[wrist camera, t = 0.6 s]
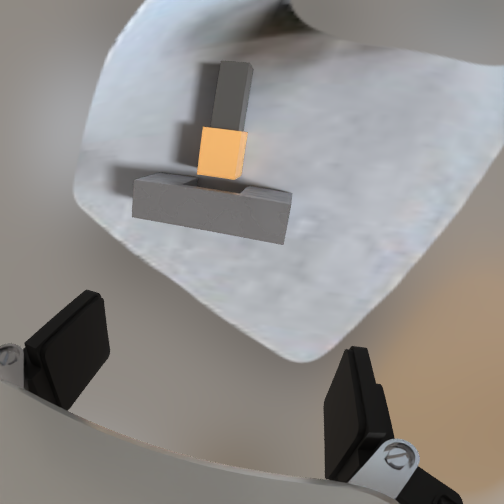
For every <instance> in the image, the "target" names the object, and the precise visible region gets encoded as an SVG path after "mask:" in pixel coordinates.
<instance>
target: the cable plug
mask: <svg viewBox="0 0 504 504" xmlns="http://www.w3.org/2000/svg"><path fill="white" fill-rule="evenodd" d="M252 75H253V68H252V66H251V64H250V63H245V62H234V61H221V64H220V70H219V76H218V82H217V88H216V94H215V100H214V107H213V113H212V120H211V127H210V128H209V127H203V131H202V138H201V146H200V153H199V161H198V169H197V174H199V175H206V176H213V177H219V178H226V179H232V180H235V179H237V178H238V177H240V176H241V173H242V167H243V160H244V153H245V147H246V140H247V134H248V132H243V131H244V124H245V118H246V111H247V105H248V99H249V93H250V87H251V81H252Z"/></svg>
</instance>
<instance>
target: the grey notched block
mask: <svg viewBox="0 0 504 504" xmlns="http://www.w3.org/2000/svg"><path fill="white" fill-rule="evenodd" d="M197 182H198V178H197V177H190V176H182V175H175V174H167V173H156V174H152V175H149V176H145V177H142V178H138V179H135V180H134V187H133V205H132V217H134V218H140V219H146V220H151V221H157V222H163V223H168V224H174V225H179V226H185V227H190V228H196V229H201V230H207V231H212V232H217V233H223V234H228V235H233V236H239V237H244V238H249V239H255V240H260V241H265V242H271V243H276V244H281V245H283V244H284V239H285V234H286V229H287V224H288V218H289V213H290V208H291V200H292V193H287V192H282V191H276V190H271V189H265V188H260V187H254V186H247V187H246V188H245V189H244V190H243V191H242V192H241V193H234V192H228V191H222V190H216V189H209V188H203V187H197Z"/></svg>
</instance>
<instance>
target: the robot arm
mask: <svg viewBox="0 0 504 504" xmlns="http://www.w3.org/2000/svg"><path fill="white" fill-rule="evenodd" d="M25 346H26V347H25V348H24V349H22V348H21V347H20V346H18V345H16V344H12V343H9V344H4V345H1V346H0V504H463V502H462V499H461V497H460V496H459V494H458V493H456V492H455V491H454V490H452V489H450V488H449V487H448V486H446V485H445V484H443V483H442V482H440V481H439V480H437V479H436V478H434V477H433V476H431V475H430V474H428V473H427V472H426V471H424V470H423V469H421V468H420V467H418V464H419V457H420V456H419V453H418V451H417V450H416V448H415V447H414V446H413V445H412V444H411V443H409V442H407V441H405V440H402V439H395V438H394V434H393V429H392V425H391V420H390V416H389V411H388V407H387V403H386V399H385V395H384V391H383V387H382V386H381V384H376V382H375V378H374V373H373V370H372V366H371V361H370V357H369V354H368V350H367V348H363V347H355V346H352V347H351V348H350V349H349V350H348V349H346V350H345V351H344V353H343V356H342V359H341V361H340V364H339V367H338V369H337V371H336V374H335V376H334V379H333V381H332V384H331V386H330V388H329V391H328V393H327V395H326V398H325V401H324V437H325V439H324V440H325V478H326V479H330V480H323V479H315V478H306V477H297V476H288V475H282V474H274V473H269V472H262V471H256V470H250V469H245V468H239V467H234V466H229V465H224V464H220V463H216V462H211V461H207V460H203V459H199V458H195V457H191V456H188V455H184V454H180V453H177V452H173V451H170V450H167V449H164V448H160V447H157V446H154V445H151V444H148V443H145V442H142V441H139V440H136V439H134V438H131V437H128V436H125V435H122V434H120V433H117V432H115V431H112V430H110V429H107V428H105V427H102V426H100V425H98V424H95V423H93V422H91V421H88V420H86V419H84V418H82V417H79V416H77V415H75V414H73V413H71V412H68V409H70V407H71V406H72V405H73V403H74V402H75V401H76V399H77V398H78V397H79V395H80V394H81V392H82V391H83V390H84V389H85V387H86V386H87V385H88V383H89V382H90V380H91V379H92V378H93V377H94V376H95V374H96V373H97V372H98V370H99V369H100V368H101V366H102V365H103V364H104V363H105V361H106V360H107V359H108V357H109V354H110V346H109V340H108V333H107V324H106V316H105V307H104V300H103V298H101V295H100V294H99V293H96V292H93V291H90V290H85V291H84V292H83V293H82V294H80V295H79V296H78V297H77V298H75V299H74V300H73V301H72V302H71V303H69V304H68V305H67V306H66V307H65V308H64V309H63V310H61V311H60V312H59V313H58V314H57V315H56V316H54V317H53V318H52V319H51V320H50V321H49V322H47V323H46V324H45V325H44V326H43V327H42V328H41V329H39V331H37V332H36V333H35V334H34V335H33V336H32V337H31V338H30V339H28V340H27V341H26V342H25Z"/></svg>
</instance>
